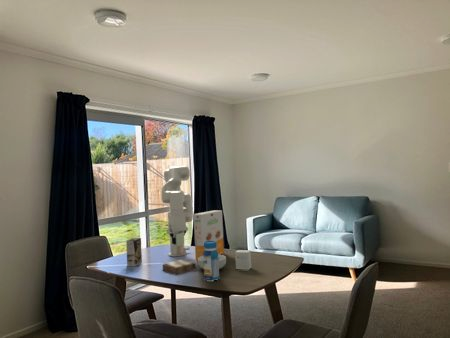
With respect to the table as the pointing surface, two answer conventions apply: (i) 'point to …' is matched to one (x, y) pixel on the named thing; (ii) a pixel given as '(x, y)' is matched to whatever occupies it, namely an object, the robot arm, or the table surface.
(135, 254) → the coffee box
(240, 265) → the small box
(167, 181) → the robot arm
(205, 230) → the cereal box
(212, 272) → the beverage bottle
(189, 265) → the base
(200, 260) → the cereal bowl
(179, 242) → the block
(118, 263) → the table surface
